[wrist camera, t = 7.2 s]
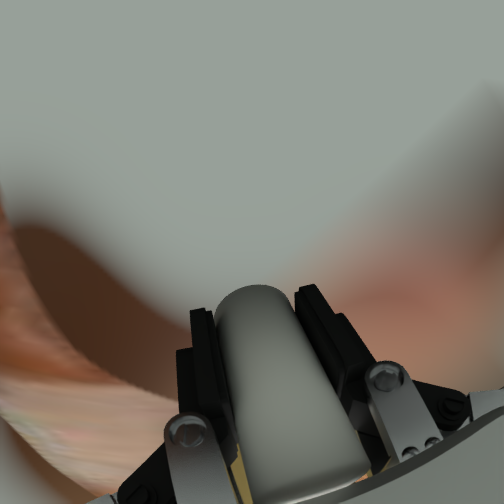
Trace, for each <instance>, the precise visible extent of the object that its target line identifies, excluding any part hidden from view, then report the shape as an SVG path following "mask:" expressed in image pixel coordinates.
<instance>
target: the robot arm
mask: <svg viewBox="0 0 504 504" xmlns="http://www.w3.org/2000/svg"><path fill="white" fill-rule="evenodd" d="M294 296H295V314H296V316H297V318H298V320H299V322H300V323H301V325H302V327H303V329H304V331H305V333H306V335H307V337H308V339H309V341H310V343H311V345H312V347H313V349H314V351H315V353H316V355H317V357H318V359H319V361H320V363H321V365H322V367H323V369H324V371H325V373H326V375H327V377H328V379H329V380H330V382H331V384H332V386H333V388H334V390H335V392H336V394H337V396H338V398H339V400H340V402H341V404H342V406H343V408H344V410H345V412H346V414H347V416H348V418H349V420H350V422H351V424H352V426H353V428H354V430H355V432H356V434H357V436H358V438H359V440H360V442H361V444H362V446H363V448H364V450H365V452H366V454H367V456H368V459H369V461H370V463H371V468H370V469H369V471H368V472H367V476H368V478H367V479H364V480H362V481H359V482H357V483H354V484H352V485H349V486H346V487H344V488H341V489H338V490H335V491H333V492H330V493H327V494H324V495H321V496H317V497H314V498H311V499H308V500H304V501H301V502H297V503H294V504H504V387H503V388H502V389H499V390H490V391H480V392H469V394H468V395H464V394H463V393H461V392H460V391H457V390H453V389H449V388H445V387H440V386H436V385H432V384H428V383H423V382H419V381H415V380H411V378H410V376H409V374H408V373H407V371H406V370H405V369H404V367H403V366H401V365H400V364H398V363H396V362H393V361H379V362H376V360H375V359H374V357H373V356H372V354H371V353H370V351H369V350H368V348H367V347H366V345H365V344H364V342H363V341H362V339H361V338H360V336H359V335H358V334H357V332H356V331H355V329H354V328H353V326H352V325H351V323H350V322H349V320H348V319H347V318H346V316H345V315H344V314H343V313H338V314H335V313H334V312H333V310H332V309H331V307H330V306H329V304H328V303H327V301H326V300H325V298H324V297H323V295H322V294H321V292H320V291H319V289H318V288H317V286H316V285H315V284H311V285H306V286H302V287H299V291H298V292H295V295H294ZM190 323H191V334H192V345H193V347H191V348H185V349H180V350H176V366H177V386H178V402H179V414H177V415H175V416H174V417H172V418H171V419H170V420H169V421H168V422H167V424H166V426H165V428H164V443H163V444H162V445H161V446H160V447H159V448H158V449H157V450H156V451H155V452H154V453H153V454H152V455H151V456H150V457H149V458H148V459H147V460H146V461H145V462H144V463H143V464H142V465H141V466H140V467H139V468H138V469H137V470H136V471H135V472H134V473H133V474H132V475H130V476H129V477H128V478H127V479H126V480H125V481H124V482H123V483H122V485H121V486H120V487H119V489H118V492H116V493H114V494H112V495H110V494H109V493H108V494H106V495H104V496H101V497H99V498H97V499H95V500H93V501H90V502H88V503H86V504H245V503H244V501H243V498H242V495H241V492H240V490H239V487H238V484H237V481H236V479H235V476H234V473H233V470H232V467H231V465H232V463H233V462H234V461H235V460H236V458H237V457H238V455H237V452H238V448H237V444H238V439H237V435H236V431H235V426H234V415H233V411H232V406H231V401H230V397H229V392H228V387H227V382H226V377H225V372H224V367H223V362H222V357H221V352H220V347H219V341H218V336H217V331H216V326H215V322H214V318H213V315H212V311H206V310H205V308H200V309H195V310H190Z"/></svg>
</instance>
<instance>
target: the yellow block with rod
mask: <svg viewBox="0 0 504 504" xmlns="http://www.w3.org/2000/svg"><path fill="white" fill-rule="evenodd" d="M214 322H215V326H216V331H217V336H218V341H219V347H220V352H221V357H222V362H223V367H224V372H225V377H226V382H227V387H228V392H229V397H230V401H231V406H232V411H233V415H234V426H235V431H236V435H237V439H238V444H237V448H238V452H237V455H238V457H237V458H236V460H235V461H234V462H233V463H232V465H231V467H232V470H233V473H234V476H235V479H236V481H237V484H238V487H239V490H240V492H241V495H242V498H243V501H244V503H245V504H294V503H297V502H301V501H304V500H308V499H311V498H314V497H317V496H321V495H324V494H327V493H330V492H333V491H335V490H338V489H341V488H344V487H346V486H348V485H350V484H352V483H354V482H355V481H357V480H358V479H359V478H361V477H362V476H363V475H365V474H366V473H367V472H368V471H369V469H370V468H371V463H370V461H369V459H368V456H367V454H366V452H365V450H364V448H363V446H362V444H361V442H360V440H359V438H358V436H357V434H356V432H355V430H354V428H353V426H352V424H351V422H350V420H349V418H348V416H347V414H346V412H345V410H344V408H343V406H342V404H341V402H340V400H339V398H338V396H337V394H336V392H335V390H334V388H333V386H332V384H331V382H330V380H329V379H328V377H327V375H326V373H325V371H324V369H323V367H322V365H321V363H320V361H319V359H318V357H317V355H316V353H315V351H314V349H313V347H312V345H311V343H310V341H309V339H308V337H307V335H306V333H305V331H304V329H303V327H302V325H301V323H300V322H299V320H298V318H297V316H296V314H295V312H294V310H293V308H292V306H291V304H290V302H289V300H288V298H287V297H286V295H285V294H284V293H282V292H281V291H280V290H278V289H276V288H274V287H271V286H267V285H251V286H246V287H243V288H240V289H238V290H235V291H234V292H232V293H230V294H229V295H228V296H226V297H225V298H224V299H223V300H222V302H221V303H220V304H219V305H218V307H217V309H216V312H215V315H214Z"/></svg>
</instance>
